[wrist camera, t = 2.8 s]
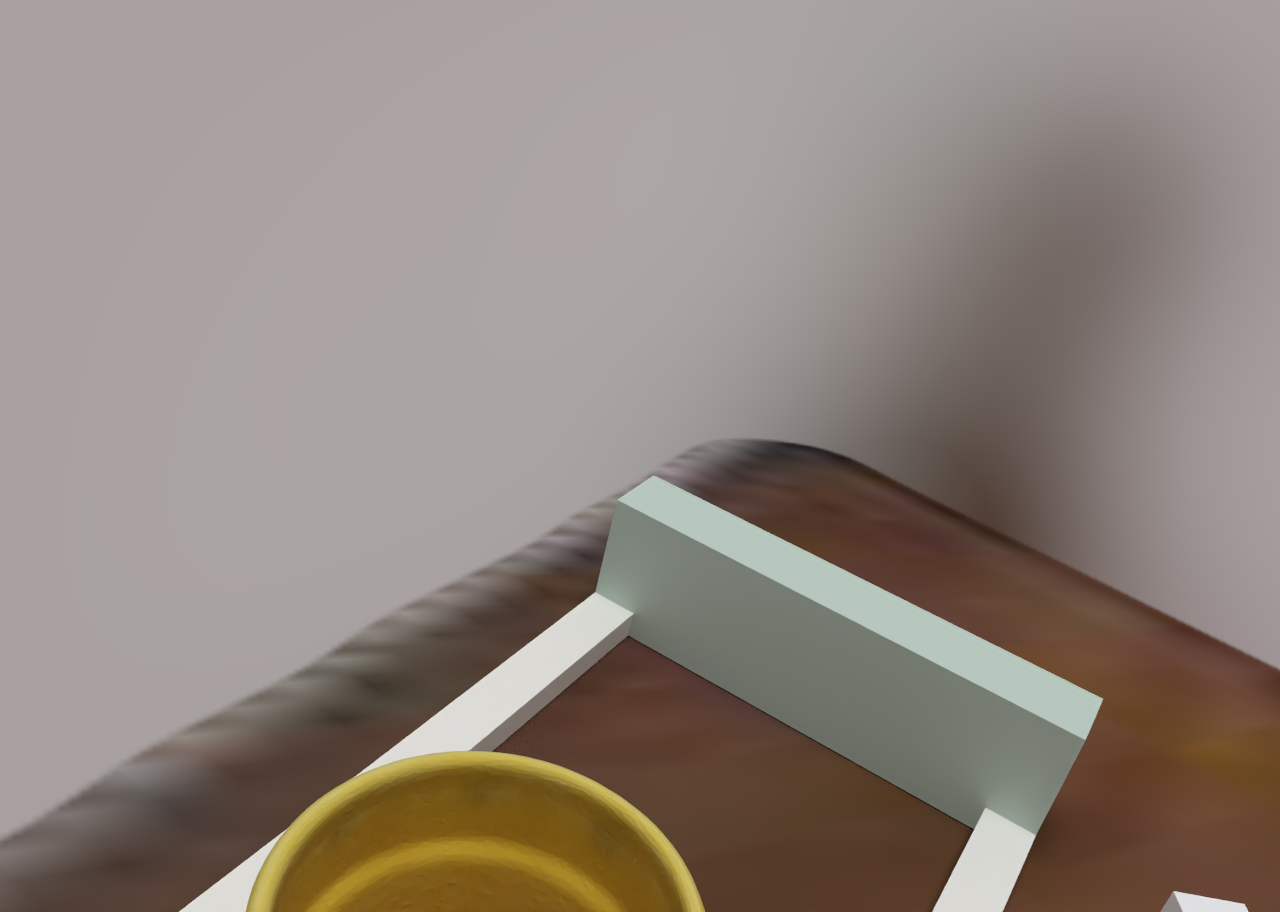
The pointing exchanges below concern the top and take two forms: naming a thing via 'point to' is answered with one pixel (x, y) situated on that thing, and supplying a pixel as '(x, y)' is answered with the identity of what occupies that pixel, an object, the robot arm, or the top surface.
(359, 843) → the plant pot
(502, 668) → the guide track
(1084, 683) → the top surface
